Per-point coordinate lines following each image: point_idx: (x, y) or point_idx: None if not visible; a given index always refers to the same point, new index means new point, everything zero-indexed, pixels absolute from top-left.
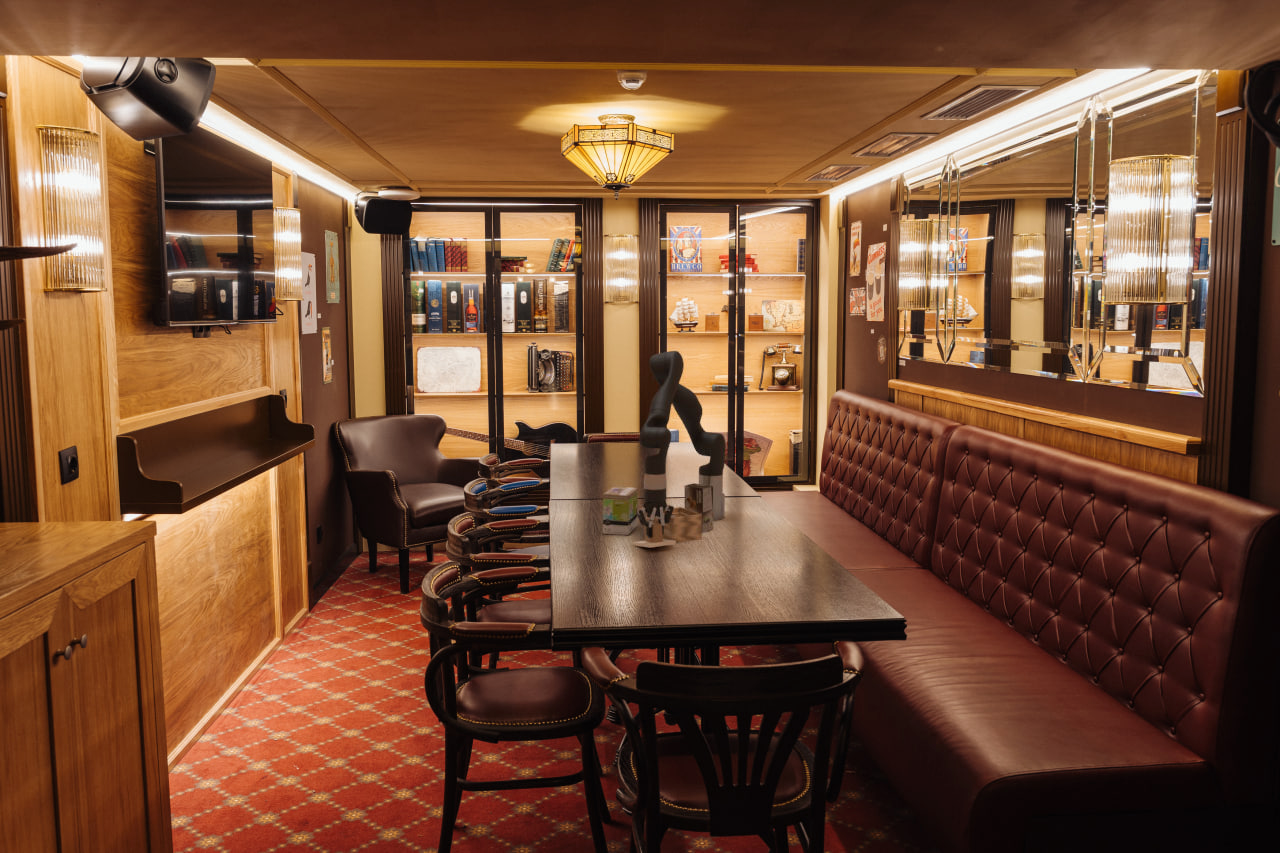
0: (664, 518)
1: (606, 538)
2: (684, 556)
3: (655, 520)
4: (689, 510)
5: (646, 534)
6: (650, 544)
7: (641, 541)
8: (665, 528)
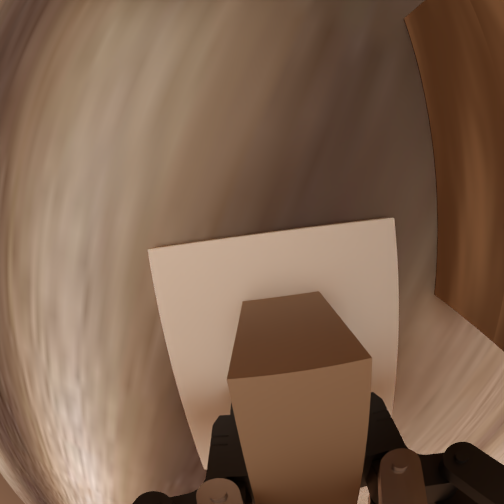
0: (458, 483)
1: (57, 34)
2: None
3: (487, 22)
4: None
5: (214, 430)
6: None
7: (218, 269)
8: (494, 219)
